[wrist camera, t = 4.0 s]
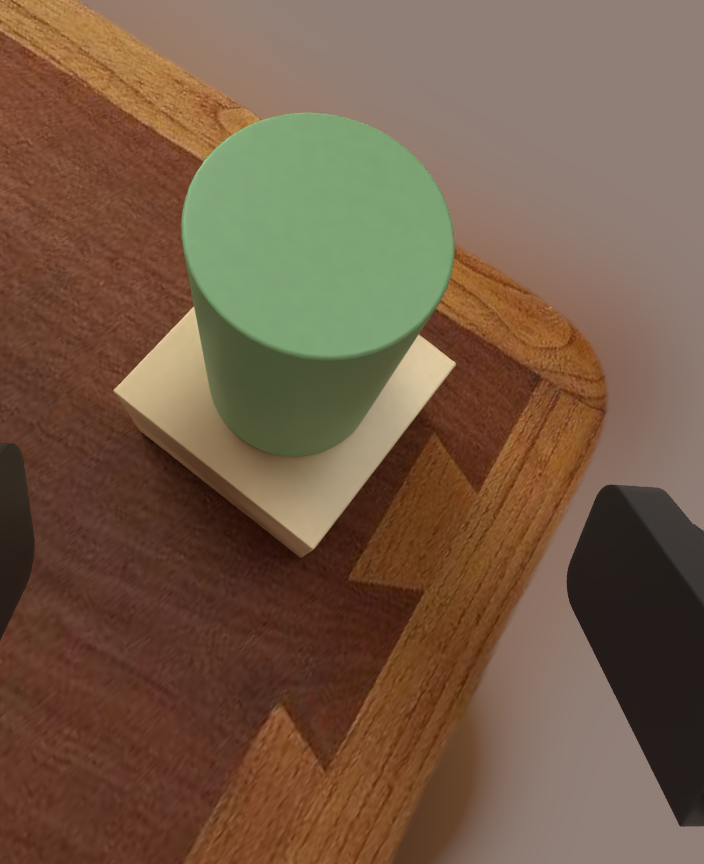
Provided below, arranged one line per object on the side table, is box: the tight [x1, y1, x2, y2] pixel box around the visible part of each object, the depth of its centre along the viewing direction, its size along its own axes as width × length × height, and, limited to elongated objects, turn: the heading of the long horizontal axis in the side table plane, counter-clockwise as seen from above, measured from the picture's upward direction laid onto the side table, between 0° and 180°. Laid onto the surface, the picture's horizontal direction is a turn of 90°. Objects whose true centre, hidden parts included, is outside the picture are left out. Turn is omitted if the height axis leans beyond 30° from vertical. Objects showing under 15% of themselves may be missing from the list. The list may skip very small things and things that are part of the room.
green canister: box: [181, 113, 455, 457], centre depth 17 cm, size 5×5×9 cm
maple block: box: [114, 307, 456, 558], centre depth 24 cm, size 8×8×5 cm
